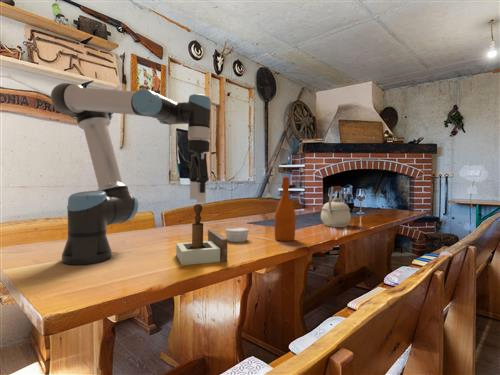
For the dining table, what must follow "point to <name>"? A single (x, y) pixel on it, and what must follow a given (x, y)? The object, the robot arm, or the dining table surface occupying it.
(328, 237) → the dining table surface
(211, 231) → the backstop wall
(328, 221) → the kettle
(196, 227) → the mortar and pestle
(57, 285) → the dining table surface
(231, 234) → the ramekin
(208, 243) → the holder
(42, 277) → the dining table surface
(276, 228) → the wine bottle
